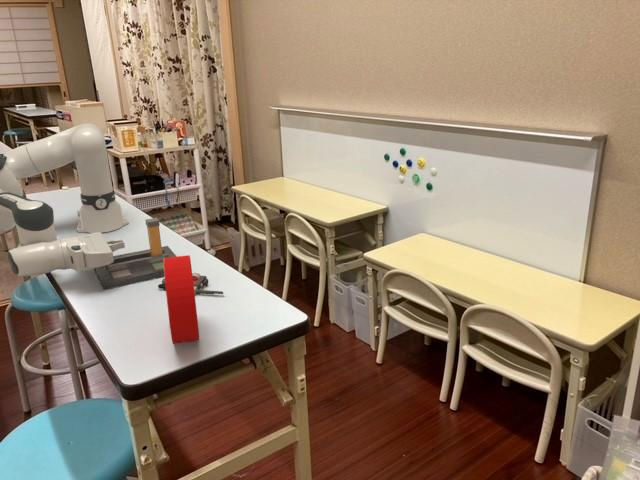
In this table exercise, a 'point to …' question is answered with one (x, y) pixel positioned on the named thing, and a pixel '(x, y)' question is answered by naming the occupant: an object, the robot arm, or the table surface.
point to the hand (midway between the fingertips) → (123, 243)
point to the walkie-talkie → (196, 285)
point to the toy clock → (181, 299)
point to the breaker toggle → (154, 236)
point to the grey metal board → (133, 268)
